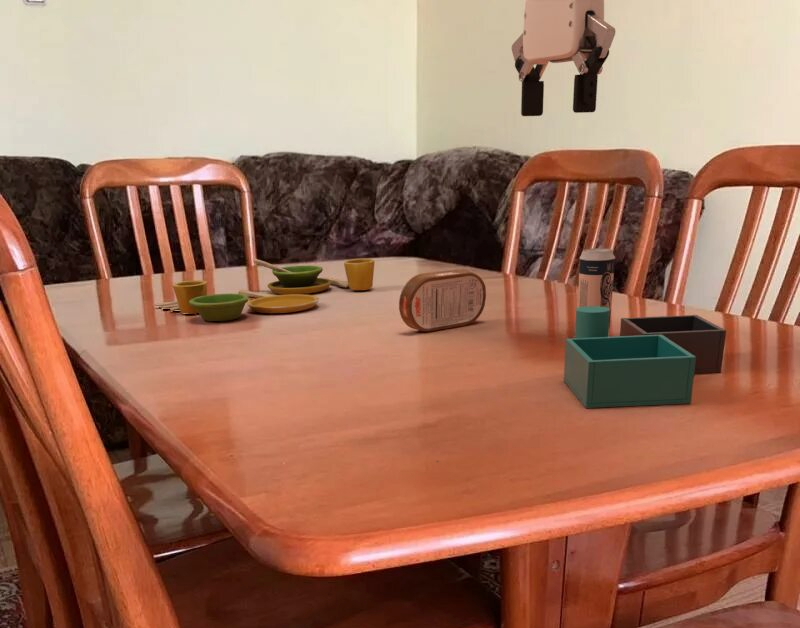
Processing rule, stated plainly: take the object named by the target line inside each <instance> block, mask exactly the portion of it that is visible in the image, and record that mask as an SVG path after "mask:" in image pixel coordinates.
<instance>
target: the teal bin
mask: <svg viewBox="0 0 800 628" xmlns="http://www.w3.org/2000/svg"><path fill="white" fill-rule="evenodd" d="M564 347H565V348H564V368H563V369H564V370H563V382H564V383H565V384H566V385H567V387H568V388H569V389H570V390H571V391H572V393H573V395H575V396H576V398H577V399H578V400H579V402H580V403H581V404H582V405H583V407H584V408H585V409H600V408H621V407H623V408H624V407H641V406H642V407H645V406H646V407H647V406H664V405H665V406H667V405H669V406H670V405H688V404H691V403H692V395H693V387H694V378H695V374H694V371H695V362H696V357H695V356H694V355H692V354H691V353H689V352H688V351H686V350H685V349H683V348H682V347H680V346H679V345H677V344H676V343H674V342H673V341H671V340H669V339H668V338H666V337H665V336H663V335H662V334H660V335H637V336H620V335H618V336H617V335H616V336H609V337H592V338H575V337H573V338H572V337H571V338H565V345H564Z"/></svg>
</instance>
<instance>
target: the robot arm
mask: <svg viewBox="0 0 800 628" xmlns="http://www.w3.org/2000/svg"><path fill="white" fill-rule="evenodd" d="M523 11H524V12H523V26H522V27H523V28H522V33H521V34H520V36H519V37H517V39H516V40H515V41H514V42H513V43H512V45H511V52H512V56H513V60H514V67H515V70H516V72H517V73H518V81H519V82H521V100H520V101H521V102H520V103H521V104H520V106H521V107H520V115H521V116H522V117H540V116H542V115H543V114H544V97H545V96H544V91H545V84H544V83H545V82H544V80H541V78H543V77H542V76H543V74H544V72H545V71H546V68H547V66H548V64H549V63H551V64H559V63H561V64H562V63H568V62H573V64H574V65H575V67H576V70H577V71H578V73H579V74H574V78H573V96H572V98H573V99H572V111H573V112H574V113H575V114H580V113H581V114H583V113H586V114H587V113H594V112H596V110H597V109H596V108H597V94H598V80H599V79H598V77H599V75H600V74H601V73H602V72H603V65H604V64H605V62H606V61H607V59H608V57H609V56H610V48H611V46H612V43H613V41H614V38H615V36H616V28H615V27H614V26H612V25H611V24H610V23H608V22H607V21H605V0H525V1H524V10H523ZM534 65H536V66H534Z"/></svg>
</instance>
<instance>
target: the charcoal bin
mask: <svg viewBox="0 0 800 628" xmlns="http://www.w3.org/2000/svg"><path fill="white" fill-rule="evenodd" d="M660 334H662V335H663V336H665V337H666V338H668V339H669V340H671V341H673V342H674V343H676V344H677V345H679V346H680V347H682V348H683V349H685V350H686V351H688V352H689V353H691V354H692V355H694V356H695V357H696V362H695V371H694V375H696V374H697V375H699V374H715V373H716V374H718V373H722V367H723V360H724V359H723V357H724V352H725V351H724V350H725V343H726V337H727V330H726V329H725V328H722V327H721V326H719V325H717V324H715V323H713V322H711V321H709V320H707V319H706V318H703V317H702V316H700V315H698V314H687V315H685V314H683V315H661V316H641V317H621V318H620V329H619V336H637V335H660Z"/></svg>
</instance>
